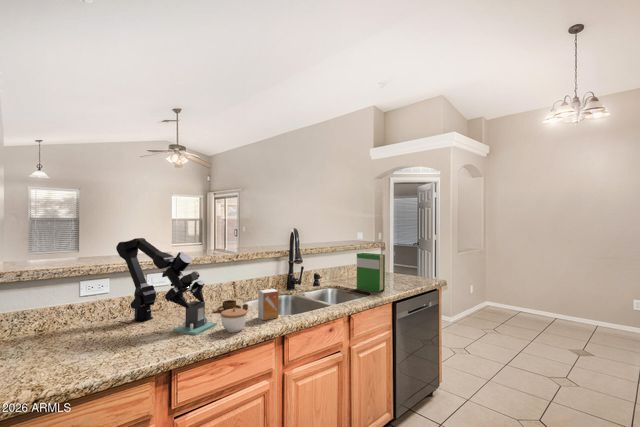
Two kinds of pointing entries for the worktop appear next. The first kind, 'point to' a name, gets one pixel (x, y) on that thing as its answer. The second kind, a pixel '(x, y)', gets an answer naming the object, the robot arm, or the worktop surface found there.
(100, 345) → the worktop surface
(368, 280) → the hardback book
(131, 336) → the worktop surface
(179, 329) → the pin tray
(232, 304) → the place setting
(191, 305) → the plate
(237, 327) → the lidded jar
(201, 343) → the worktop surface
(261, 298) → the small box
